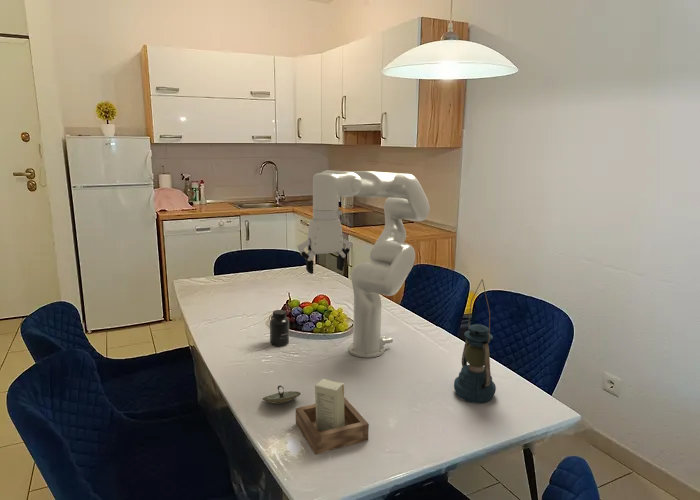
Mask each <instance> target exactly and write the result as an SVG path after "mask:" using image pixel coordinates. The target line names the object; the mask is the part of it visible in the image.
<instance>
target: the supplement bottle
mask: <svg viewBox="0 0 700 500" xmlns="http://www.w3.org/2000/svg"><path fill="white" fill-rule="evenodd" d="M269 343H270V345H271V346H273V347H285V346H287V345H289V343H290V320H289V319H288V318H287V311H286V310H283V309H276V310H273V311H272V318H271V319H270V321H269Z"/></svg>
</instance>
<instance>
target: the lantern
mask: <svg viewBox="0 0 700 500" xmlns="http://www.w3.org/2000/svg"><path fill="white" fill-rule="evenodd" d="M481 284H482V285H483V290H484V294H485V299H486V304H487V308H488V309H487V310H488V317H489V319H488V327H487V326H486V325H483V324H479V323H476V324H471V325H468V330H467V331H465V332H464V333H463V336H464V337H465V341H464V347H463V350H462V351H463V352H462V357H461V369H460V371H459V373H458V376H457V377H456V378H455V379H454V382H453V387H454V392H455V394H456V397H458V398H459V399H461V400H462V401H464V402H468V403H473V404H485V403H489V402H491V401H492V399H493V398H494V396H495V394H496V391H497V387H496V384H495V382H494V381H493V377H492V375H491V374H492V373H491V362H490V360H491V359H490V347H489V343H490V342H491V341H492V340H493V338H494V337H493V335H492V333H490V332H491V330H490V329H491V311H490V306H489V301H488V297H487V292H486V288H485V287H486V286H485V284H484V279H481V280H480V282H479V284H478V286H477V288H476V289H475V292H474V294H473V296H472V298H471V301H470V307H469V317H468V324H470V323H471V322H470V321H471V312H472V303H473V301H474V297H475V295H476V293H477V292H478V289H479V288H480V285H481Z"/></svg>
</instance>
